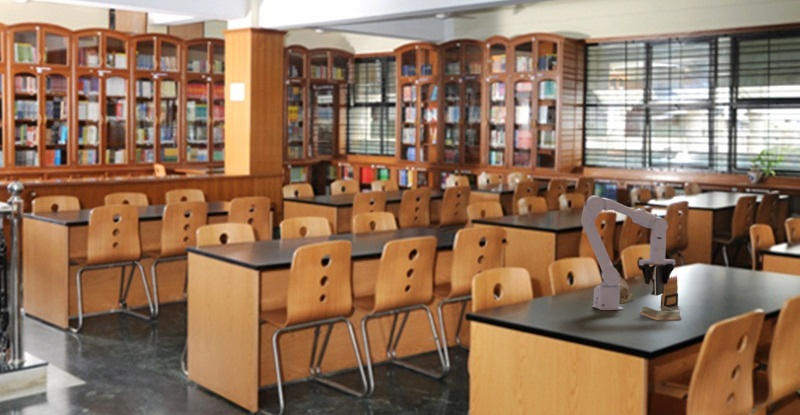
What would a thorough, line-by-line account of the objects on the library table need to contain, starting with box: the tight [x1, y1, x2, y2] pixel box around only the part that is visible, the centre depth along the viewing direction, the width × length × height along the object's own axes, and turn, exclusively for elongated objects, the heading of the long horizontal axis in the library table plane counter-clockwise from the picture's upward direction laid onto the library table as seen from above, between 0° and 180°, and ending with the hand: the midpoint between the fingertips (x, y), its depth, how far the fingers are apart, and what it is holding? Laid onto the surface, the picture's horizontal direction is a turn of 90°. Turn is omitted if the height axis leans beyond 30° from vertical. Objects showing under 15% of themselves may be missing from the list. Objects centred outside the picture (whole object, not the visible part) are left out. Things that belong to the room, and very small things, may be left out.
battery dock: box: [638, 305, 682, 321], centre depth 340 cm, size 10×12×3 cm
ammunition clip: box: [660, 275, 679, 308], centre depth 361 cm, size 11×2×12 cm, turn 136°
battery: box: [650, 265, 664, 297], centre depth 351 cm, size 7×4×11 cm, turn 141°
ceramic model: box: [618, 276, 634, 304], centre depth 373 cm, size 14×11×10 cm
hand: (656, 283), depth 351 cm, fingers closed on battery, 7 cm apart
